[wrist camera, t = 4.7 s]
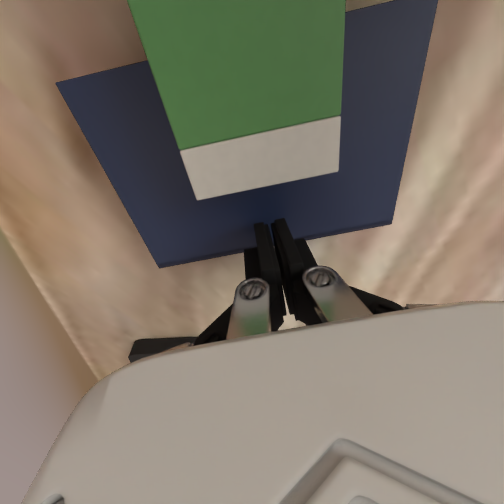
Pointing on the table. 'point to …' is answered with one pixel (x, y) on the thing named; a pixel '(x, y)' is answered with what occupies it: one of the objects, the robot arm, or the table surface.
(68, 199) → the table surface
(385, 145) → the book
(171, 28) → the green and white eraser
